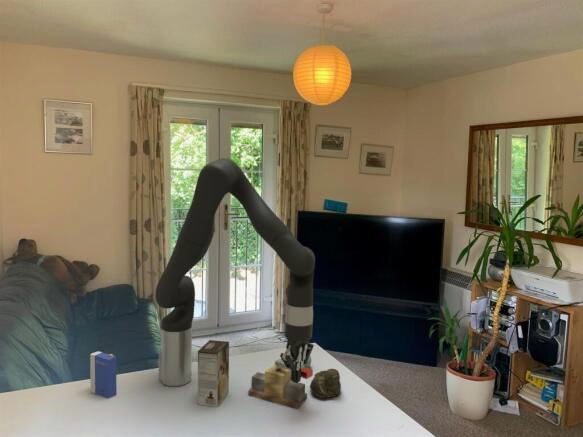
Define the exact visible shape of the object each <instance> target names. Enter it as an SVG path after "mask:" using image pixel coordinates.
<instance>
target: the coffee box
mask: <svg viewBox="0 0 583 437" xmlns="http://www.w3.org/2000/svg"><path fill="white" fill-rule="evenodd" d="M229 373H230V341H223V340H215V339H209V340H208V341H207V342H206V343H205V344H204V345H203V346H201V348H200V349H198V350H197V405H199V406H205V407H211V408H212V407H213V408H219V406H220V404H222V402H223V400H225V398H226V396H228V394H229V391H230V390H229V386H230V385H229V383H230V382H229V381H230V379H229V378H230V374H229Z"/></svg>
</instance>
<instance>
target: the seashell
mask: <svg viewBox="0 0 583 437" xmlns="http://www.w3.org/2000/svg"><path fill="white" fill-rule="evenodd" d="M313 376H314V377H313V379H312V380H311V381H310V385H309V389H310V390H311V392H312V394H313V395H314V396H316V397H318V398H321V399H323V398H333V397H335V396H339V395H340V393H341V391H342V385H341V384H342V383H341V381H340V380H341V375H340V371H339V370H337V369H336V368H329V369H327V370H320V371H318V372H316V373H315V374H313Z"/></svg>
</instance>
